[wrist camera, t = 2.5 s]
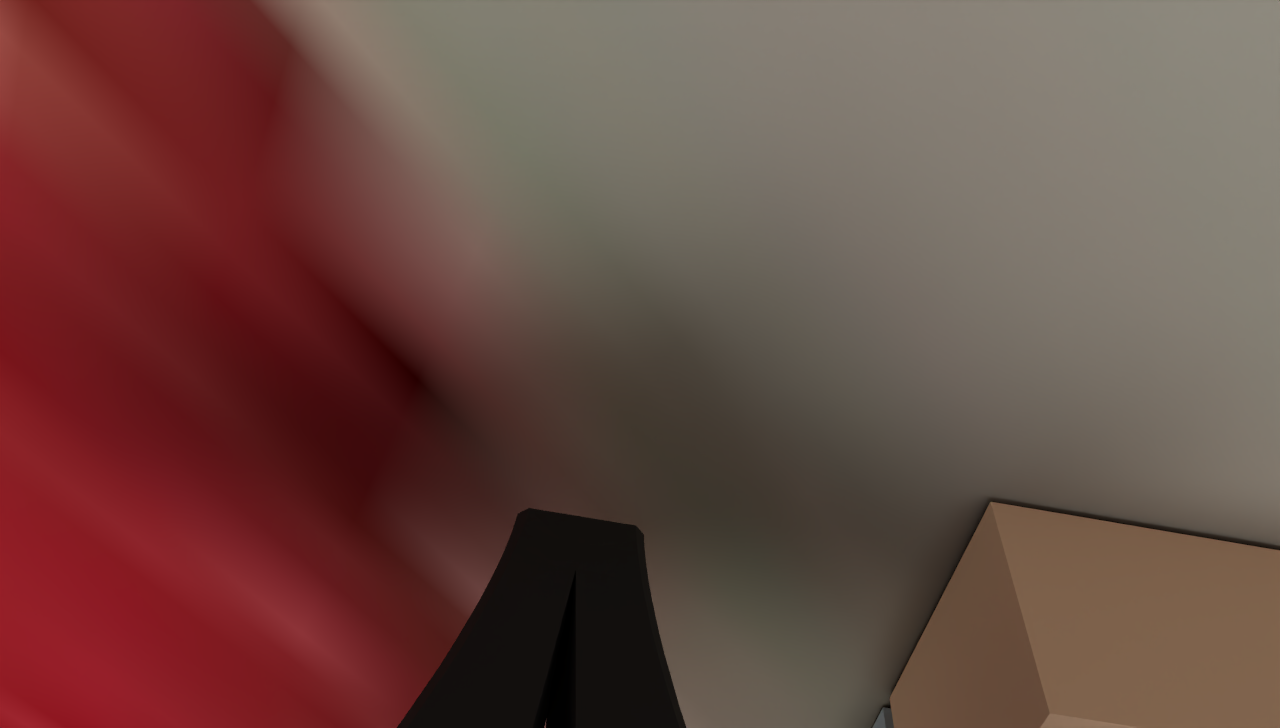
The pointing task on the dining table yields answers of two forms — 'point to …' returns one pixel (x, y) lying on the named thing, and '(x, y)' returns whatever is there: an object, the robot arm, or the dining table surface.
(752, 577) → the dining table surface
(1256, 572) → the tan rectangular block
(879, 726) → the pad
